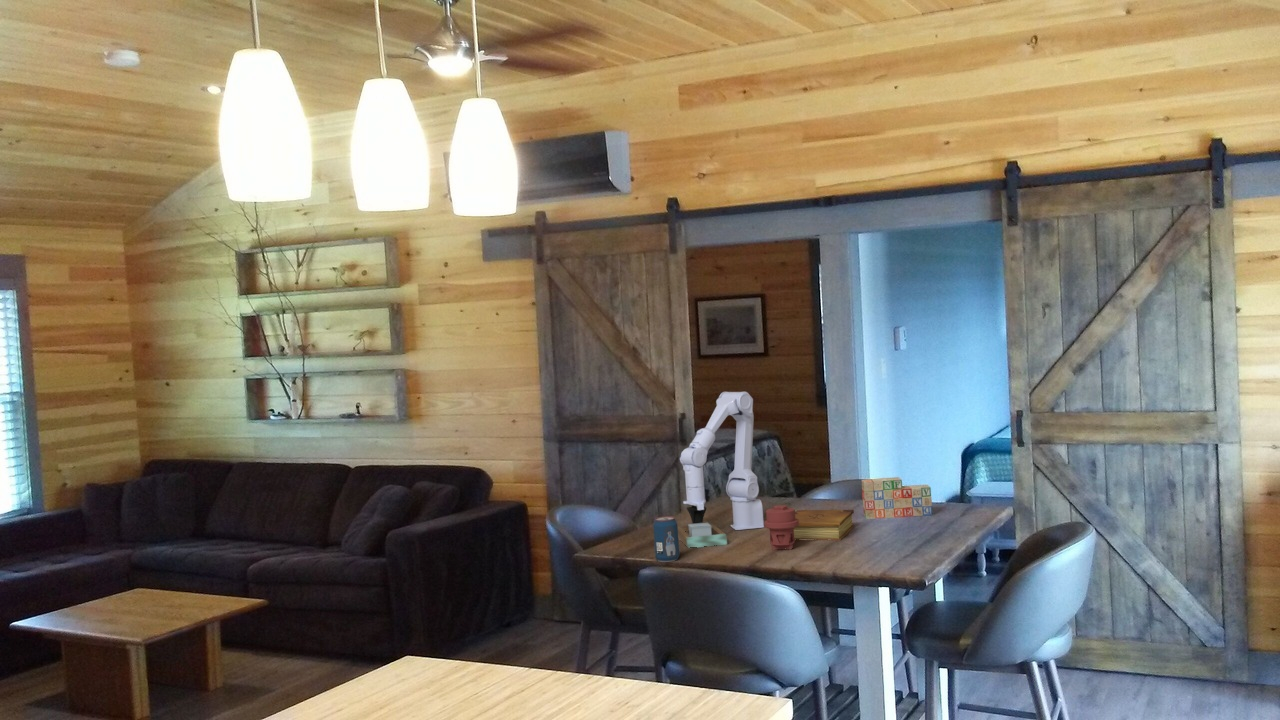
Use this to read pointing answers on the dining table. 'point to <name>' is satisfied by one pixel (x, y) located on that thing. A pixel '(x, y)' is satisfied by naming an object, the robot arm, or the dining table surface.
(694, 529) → the box
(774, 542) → the mechanical component
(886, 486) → the stack of blocks
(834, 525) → the diary
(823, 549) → the dining table surface
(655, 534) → the soda can
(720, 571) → the dining table surface
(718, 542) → the bay
